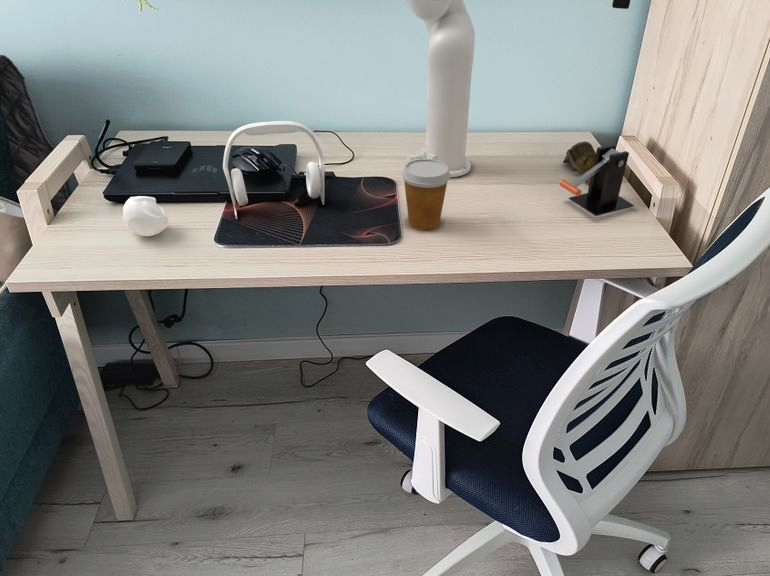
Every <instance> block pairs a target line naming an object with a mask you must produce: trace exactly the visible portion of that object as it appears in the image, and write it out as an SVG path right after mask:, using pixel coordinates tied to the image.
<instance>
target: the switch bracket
mask: <svg viewBox="0 0 770 576" xmlns="http://www.w3.org/2000/svg"><path fill="white" fill-rule="evenodd" d="M612 148H613V149H615V150H616V148H617V146H616V144H613V143H611V144H607V145H602V146H598V147H596V151H595V152H596V156H595V161H594V165H593V167H594V166H596V165H597V164H598V163H600V162H601V161H603V159H602V155H604V154H605V153H606V152H608V151H609V150H610V149H612ZM629 155H630V152H628V151H627V150H624V151H621V152H620V151H619V153H615V154H611V155H610V158H609V162H608V167H607V166H606V167H604V168H603V169H602V170H600V171H599V172H597V173H596V174H595V175H593V176H592V177H591V179H590V184H589V185H588V189H587V192H586V193H581V195H580V196H576V195H574V196H570V197H568V200H570V201H572V202H573V203H574V204H576V205H578V206H579V207H581V208H583V209H584V210H585V211H587V212H588V213H590V214H592V215H593V216H595V217H599V216H602V215H605V214H609V213H612V212H617V211H621V210H624V209H628V208H631V207H634V206H635V205H634V204H633V203H632V202H630V201H629V200H626V199H625V198H623V197H622V196H620V192H621V188H622V183H623V179H624V176H625V172H626V168H627V164H628V160H629V157H630V156H629Z"/></svg>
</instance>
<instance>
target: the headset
mask: <svg viewBox="0 0 770 576" xmlns="http://www.w3.org/2000/svg"><path fill="white" fill-rule="evenodd" d="M298 129H299V130H301V131H302V132H304V133H306V134H307V135H308V136H309V138H310V139H311V140H312V142H313V144H314V146H315V149H316V151H317V154H318V164H317V163H316V162H315V161H310V162H308V163H307V165H306V169H305V181H306V183H305V184H306V190H307V193H308V196H309V198H311V199H318V198H319V197H320V200H321V203H322V205H325V157H324V154H323V151H322V147H321V145H320V143H319V141H318V139H317V137H316V135H315V134H314V132H313V131H312V130H311V128H309V127H307V126H306V125H304V123H303V124H302V123H300V122H296V121H291V120H289V121H288V120H274V121H262V122H261V121H260V122H253V123H248V124H245V125H242V126H240V127H238V128H236V129H235V130H234V131H233V132H232V133H231V134H230V136H229V138H228V140H227V142H226V145H225V149H224V154H223V159H222V169H223V173H224V176H225V178H226V183H227V186H228V190H229V193H230V197H231V201H232V205H233V210H234V216H235V219H236V220H238V213H237V212H238V211H237V207H236V206H237V204H238V205H239V206H243V207H244V206H247V204H248V203H249V198H248V193H247V189H246V185H245V181H244V177H243V172H242V170H241V169H239V168H232V169H231V171H230V172H229V168H228V167H229V159H230V154H231V150H232V147H233V144H234V142H235V141H236V139H237V138H238V137H239V136H240V135H242V134H243V133H244V134H246V135H248V136H262V135H263V136H264V135H274V134H293V133H295V132H297V130H298ZM236 201H237V203H236Z"/></svg>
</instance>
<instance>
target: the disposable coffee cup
mask: <svg viewBox="0 0 770 576" xmlns="http://www.w3.org/2000/svg"><path fill="white" fill-rule="evenodd" d="M401 177H402V179H403V182H404V183H403V184H404V191H405V201H406V210H407V215H408V216H407V217H408V218H407V219H408V224H409V226H410V227H411V228H413V229H415V230H418V231H419V230H420V231H430V230H431V231H432V230H434V229H436V228H438V227H439V226H440V221H441V217H442V212H443V206H444V202H445V196H446V192H447V187H448V182H449V180H450V178H451V177H450V172H449V170H448V166H447V165H446V164H444V163H443V162H441V161H438V160H434V159H415V160H411V161H409V162H407V161H406V163H405V164H404V166H403V169H402V171H401Z"/></svg>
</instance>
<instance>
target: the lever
mask: <svg viewBox="0 0 770 576" xmlns="http://www.w3.org/2000/svg"><path fill="white" fill-rule="evenodd" d="M615 153H620V151H618V150H617V149H616V148H615V149H613V148H612V149H610V150H609V151H608V152H606V153H605V154H604V155H602V159H603V161H601V162H600V163H598V164H597V165H596V166H594V167H593V168H591V169H590V170H586V171H585V173H584V174H583V175H580V176H578V177H577V178H576V179H574V180H573V181H572V182H569V181H567V180H565V179H563V178H562V179H561V180H560V181H559V183H558V184H559V186H560V187H561V188H563V189H565V190H566V191H567V192H569V193H570V194H572V195H574V196H580V195H582V190H581V189H580V188H578V187H580V186H581V185H582V184H584V183H586V182H585V181H586V180H588V179H589V178H591V177H592V176H593V175H595V174H596V173H597V172H599V171H600V170H602V169H603V168H604V167H606V166H607V167H608V162H609V158H610V155H611V154H615Z"/></svg>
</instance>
